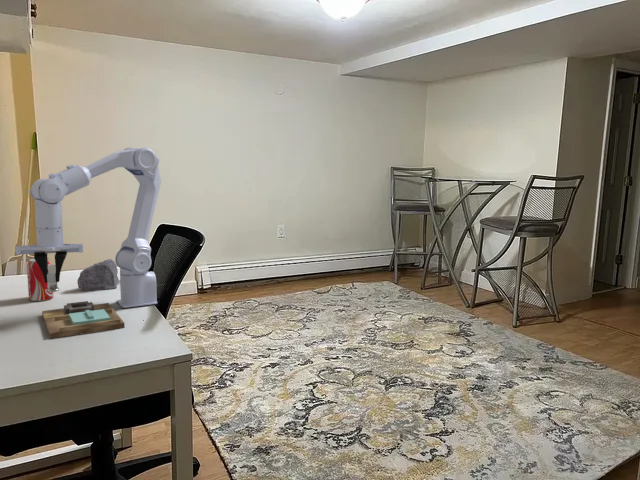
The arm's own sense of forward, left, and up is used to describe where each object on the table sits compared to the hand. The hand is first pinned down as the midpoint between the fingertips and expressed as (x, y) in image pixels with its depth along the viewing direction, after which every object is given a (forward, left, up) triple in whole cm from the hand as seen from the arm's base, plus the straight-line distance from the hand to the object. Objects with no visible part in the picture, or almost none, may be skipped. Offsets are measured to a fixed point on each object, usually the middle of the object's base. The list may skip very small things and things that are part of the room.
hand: (52, 281), depth 121 cm
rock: (-15, -26, -10) cm, 31 cm away
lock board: (-6, +4, -10) cm, 12 cm away
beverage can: (+1, -22, -10) cm, 24 cm away
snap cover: (-7, +9, -9) cm, 15 cm away
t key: (0, -2, -3) cm, 3 cm away
